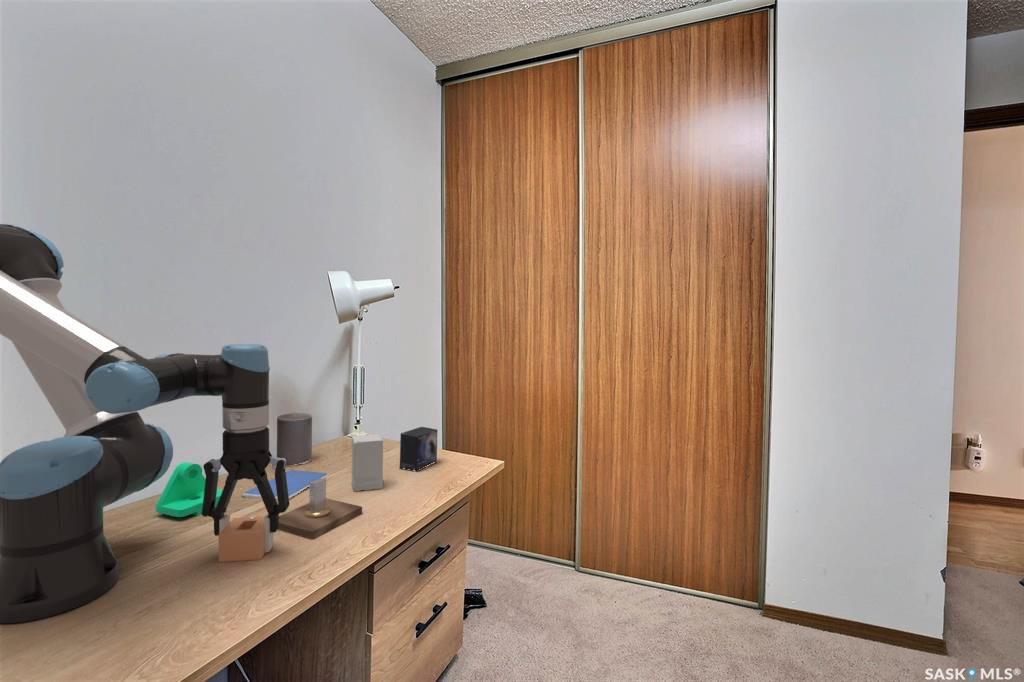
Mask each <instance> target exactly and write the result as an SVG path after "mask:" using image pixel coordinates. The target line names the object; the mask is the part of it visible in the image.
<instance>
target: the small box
mask: <svg viewBox="0 0 1024 682" xmlns="http://www.w3.org/2000/svg"><path fill="white" fill-rule="evenodd" d="M399 443H400V444H399V446H400V448H399V450H400V451H399V469H401V468H405V469H404V470H406V469H410V470H415V471H416V472H418V471H417V470H419V469H421V468H423V467H425V466H427V465H429V464H431V463H433V462H436V461H437V462H438V460H437V459H438V458H437V457H438V429H436V428H431V427H425V426H419V427H416V428H414V429H410V430H407V431H403V432H401V433H400V441H399ZM425 468H426V467H425ZM423 469H424V468H423ZM410 470H409V471H410ZM421 470H422V469H421ZM415 471H414V472H415ZM419 471H420V470H419Z"/></svg>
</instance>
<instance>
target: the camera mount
mask: <svg viewBox="0 0 1024 682" xmlns="http://www.w3.org/2000/svg"><path fill="white" fill-rule="evenodd" d="M205 480H206V476H204V475H203V468H202V466H201V465H200V464H199V463H193V462H187V461H186V462H185V461H184V462H181V463H178V465H176V466H175V468H174V470H173V472H172V474H171V475H170V477H169V480H168V481H167V483H166V485H165V486H164V489H163V490H162V493H161V495H160V496H159V498H158V500H157V502H156V504H155V513H158V514H163V515H167V516H171V517H177V518H183V517H187V516H189V515H192V516H193V515H194V516H199V515H202V507H203V498H204V489H205ZM222 491H223V489H220V488H217V493H216V502H215V507H216V506H217V504H218V501H219V499H220V496H221V494H222Z"/></svg>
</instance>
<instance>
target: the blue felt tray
mask: <svg viewBox="0 0 1024 682" xmlns="http://www.w3.org/2000/svg"><path fill="white" fill-rule="evenodd" d="M285 472H286V480H287V488H288V496H289V500H291V499H292V498H293V496H294V497H295V496H297V495H299V494H300V493H302V492H304V491H305V490H304V489H306V488H307V487H308V486H309V483H310V482H313V481H315V480H318V479H321V478H323V477H325V476H326V475H328V474H327V472H317V471H308V470H307V471H306V470H296V469H289V470H288V471H285ZM268 481H269V484H270V486H271V489H272V491H273V493H274V496H275V498H276V501H278V498H277V490H276V482H275V477H273V478H272V479H268ZM307 489H308V488H307ZM307 489H306V490H307ZM303 490H304V491H303ZM301 491H302V492H301ZM298 493H299V494H298ZM241 497H243V498H247V497H248V498H249V499H257V498H262V497H261V495H260V493H259V490H258V488H257V486H254V487H253V488H250V489H249V490H246V491H245V492H243V493H242V494H241Z"/></svg>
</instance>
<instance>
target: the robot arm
mask: <svg viewBox="0 0 1024 682" xmlns="http://www.w3.org/2000/svg"><path fill="white" fill-rule="evenodd" d="M64 265H65V264H64V259H63V256H62V254H61V253H60V250H59V249H58V247H57V246H56V245H55V244H54V243H53V242H52V241H51V240H50V239H48V238H47V237H45V236H44V235H42V234H41V233H38V232H36V231H33V230H32V229H31V230H30V229H27V228H24V227H21V226H17V225H13V224H9V223H7V224H6V223H5V224H4V223H0V335H1V336H3V337H4V338H5V339H8V340H10V341H11V342H12V344H13V346H14V348H16V349H15V350H16V352H18V354H19V356H20V358H21V359H22V360H23V362H24V364H25V365H26V368H28V370H29V372H30V374H31V375H32V377H33V379H34V380H35V382H36V384H37V385H38V387H39V388H40V391H41V392H42V393H43V395H44V396H45V399H46V400H47V402H48V403H49V405H50V407H51V408H52V410H53V412H54V413H55V415H56V416H57V418H58V419H59V421H60V423H61V424H62V426H63V428H64V429H65V433H64V436H63V437H57V438H53V439H51V440H42V441H40V442H39V441H38V442H35V443H34V442H33V443H31V444H28V445H26V446H22V447H21V448H18V449H16V450H14V451H12V452H10V453H9V454H7V455H6V456H5V457H4V458H3V459H2V460H1V461H0V624H8V623H7V622H10V623H9V624H14V623H15V624H16V623H17V622H18V623H24V622H31V621H37V620H40V619H45V618H48V617H52V616H56V615H59V614H62V613H64V612H65V613H66V612H67V611H70V610H74V609H75V608H78V607H80V606H83V605H85V604H88V603H89V602H92V601H93V600H95V599H97V598H99V597H101V596H102V595H103V594H105V593H107V592H108V591H109V590H110V589H111V588H112V587H113V586H115V584H116V583H117V582H118V580H119V563H118V560H117V558H116V556H115V553H114V551H113V549H112V548H111V546H110V543H109V541H108V540H107V537H106V535H105V533H104V508H105V507H107V506H109V505H111V504H114V503H116V502H118V501H119V500H122V499H124V498H126V497H128V496H130V495H132V494H134V493H137V492H141V491H142V490H144V489H145V488H148V487H149V486H150V485H152V484H153V483H155V482H157V481H158V480H160V479H161V478H162V477H163V476H164V475H165V474H166V473H167V471H168V469H169V468H170V466H171V463H172V460H173V458H174V457H173V456H174V446H173V441H172V439H171V437H170V436H169V434H168V433H167V432H166V431H165V429H163V428H161V427H160V426H156V425H154V424H151V423H145V422H144V420H143V418H142V416H141V415H140V413H139V411H143V410H145V409H147V408H150V407H153V406H157V405H160V404H164V403H165V404H166V403H169V402H173V401H177V400H180V399H184V398H185V399H186V398H188V397H198V396H201V397H202V396H203V397H206V396H207V397H209V396H211V397H212V396H213V397H221V401H222V402H221V407H222V413H221V414H222V415H221V416H222V428H223V429H224V431H223V432H222V455H221V457H220V458H218V459H215V458H212V459H211V458H210V460H208V461H207V462H205V463H204V464H203V470H204V474H205V479H206V480H205V489H204V498H203V507H202V514H201V515H202V517H204V518H206V517H210V518H212V519H213V533H214V536H215V537H218V535H219V534H220V532H221V531H222V530H223V529H225V528H226V527H227V526H228V525H229V523H230V522H231V514H230V513H226V512H227V509H228V506H229V503H230V501H231V499H232V497H233V496H232V495H233V493H234V491H235V488H236V486H237V483H238V481H240V480H252V481H253V484H254V485H256V487H257V488H258V490H259V493H260V495H261V497H262V499H261V500H262V502H263V505H264V507H265V509H266V512H267V514H266V515H265V516H264V517H265V518H264V527H265V552H266V553H269V552H270V551H271V550H272V548H273V546H274V533H276V532H277V531H278V530H279V529H278V527H279V516H280V514H282V513H283V514H285V513H286V511H287V510H288V508H289V506H290V499H289V496H288V488H287V480H286V472H287V471H286V467H287V466H286V464H287V458H286V457H282V458H277V456H276V457H275V456H273V455H272V453H271V451H270V429H269V427H268V425H269V424H270V399H269V396H270V393H269V391H270V390H269V389H270V370H271V367H270V364H269V363H270V362H269V350H268V348H267V346H265V345H264V344H260V343H259V344H258V343H234V344H233V343H230V344H226V345H223V346H222V348H221V352H220V354H194V353H193V354H192V353H190V354H188V353H187V354H186V353H183V352H181V353H180V352H177V353H169V354H168V353H164V354H160V355H156V356H155V357H154V358H145V357H144V356H142V355H140V354H138V352H135V351H133V350H131V349H130V348H128V347H126V346H125V345H123V344H121V343H120V342H118V341H116V340H115V339H114V338H113V337H110V336H108V335H107V334H106V333H104V332H102V331H101V330H99V329H97V328H95V327H94V326H93V325H90V324H89V323H88V322H86V321H83V320H82V319H81V318H79V317H77V316H76V315H74V314H73V313H71V312H69V311H68V310H67V309H66V308H64V306H63V304H62V302H61V301H60V299H59V297H58V294H59V292H60V291H61V289H62V287H63V285H62V282H61V281H60V280H61V279H62V276H63V273H64V271H61V270H62V268H64ZM269 464H271V466H272V467H271V468H272V470H274V478H275V482H276V490H277V498H278V500H276V498H275V496H274V493H273V491H272V489H271V486H270V484H269V478H268V474H267V471H266V469H267V467H268V465H269ZM221 467H223V468H224V470H225V471H226V472H227V473H228V474H227V476H226V479H225V482H224V485H223V488H222V490H223V491H222V494H221V496H220V499H219V501H218V503H217V506H216V507H215V502H216V493H217V489H218V485H219V484H218V483H219V474H220V473H219V471H220V469H221ZM225 513H226V514H225Z"/></svg>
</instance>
